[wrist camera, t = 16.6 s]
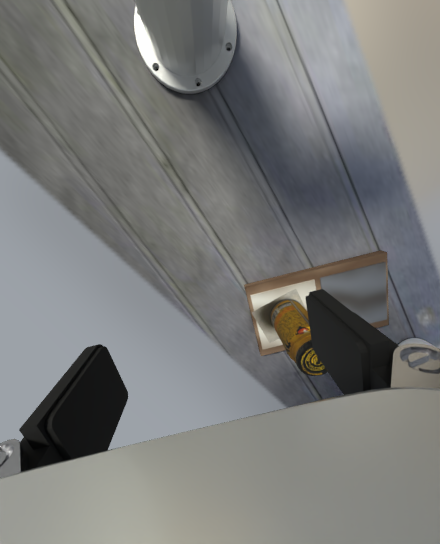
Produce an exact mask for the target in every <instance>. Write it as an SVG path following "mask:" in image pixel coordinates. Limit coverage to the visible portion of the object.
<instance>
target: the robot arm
mask: <svg viewBox="0 0 440 544" xmlns="http://www.w3.org/2000/svg"><path fill="white" fill-rule="evenodd" d="M134 1H135V4H136V5H135V12H134V33H135V37H136V42H137V46H138V49H139V51H140V54H141V56H142V58H143V61H144V63H145V65H146V66H147V68H148V69H149V71H150V72H151V74H152V75H153V76H154V77H155V78H156V79H157V80H158V81H159V82H160V83H162V84H163V85H164V86H166V87H167V88H169V89H171V90H173V91H176V92H180V93H184V94H195V93H199V92H203V91H205V90H207V89H209V88H211V87H212V86H214V85H215V84H216V83H218V82H219V80H220V79H221V78H222V77H223V76H224V75H225V73H226V71H227V70H228V68H229V66H230V64H231V61H232V58H233V55H234V51H235V46H236V38H237V22H236V17H235V11H234V8H233V5H232V2H231V0H134ZM227 49H229V50H230V51H227ZM156 69H159V70H158V71H155V70H156ZM197 84H200V86H196V85H197ZM306 305H307V312H308V319H309V326H310V333H311V340H312V346H313V350H314V352H315V354H316V355H317V357H318V358H319V360H320V361H321V363H322V364H323V365H324V367H325V368H326V370H327V371H328V373H329V374H330V375H331V377H332V378H333V380H334V381H335V383H336V384H337V385H338V387H339V388H340V390H341V391H342V393H343V394H344V395H342V396H337V397H332V398H328V399H323V400H319V401H315V402H310V403H306V404H302V405H297V406H293V407H289V408H285V409H280V410H276V411H272V412H267V413H263V414H259V415H254V416H250V417H246V418H241V419H237V420H233V421H229V422H224V423H220V424H216V425H212V426H207V427H203V428H199V429H195V430H191V431H187V432H182V433H178V434H174V435H170V436H166V437H161V438H157V439H153V440H149V441H145V442H140V443H136V444H132V445H128V446H124V447H120V448H116V449H111V450H108V447H109V445H110V442H111V440H112V437H113V435H114V432H115V430H116V427H117V425H118V422H119V420H120V417H121V415H122V412H123V409H124V407H125V405H126V402H127V399H128V392H127V389H126V387H125V385H124V383H123V381H122V379H121V377H120V375H119V372H118V370H117V368H116V366H115V364H114V362H113V360H112V358H111V355H110V353H109V351H108V349H107V348H106V347H103V346H102V345H95V346H91V347H87V348H86V349H85V350H84V351H83V352H82V354H81V355H80V356H79V357H78V358H77V360H76V361H75V362H74V363H73V364H72V366H71V367H70V368H69V369H68V371H67V372H66V373H65V374H64V375H63V377H62V378H61V379H60V381H59V382H58V383H57V384H56V385H55V386H54V388H53V389H52V390H51V391H50V393H49V394H48V395H47V396H46V398H45V399H44V400H43V401H42V402H41V404H40V405H39V406H38V407H37V408H36V410H35V411H34V412H33V414H32V415H31V416H30V417H29V418H28V420H27V421H26V422H25V423H24V424H23V426H22V427H21V428H20V432H21V433H22V434H23V436H24V438H23V439H22V441H21V442H19V440H16V439H11V440H7V441H5V442H2V443H0V544H440V349H439V348H436V347H434V346H430V345H425V344H416V343H412V344H404V345H401V346H398V345H397V344H396V343H394V342H393V341H392V340H390V339H389V338H388V337H386V336H385V335H384V334H382V333H381V332H380V331H379V330H377V329H376V328H375V327H373V326H372V325H371V324H369V323H368V322H367V321H365V320H364V319H363V318H361V317H360V316H359V315H358V314H356V313H354V312H352V311H351V310H350V309H348V308H347V307H346V306H344V305H343V304H342V303H340V302H339V301H338V300H337V299H335V298H334V297H333V296H331V295H330V294H329V293H328V292H326V291H325V290H324V289H320V290H316V291H312V292H309V296H306Z"/></svg>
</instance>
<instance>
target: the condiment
mask: <svg viewBox="0 0 440 544" xmlns="http://www.w3.org/2000/svg"><path fill="white" fill-rule="evenodd" d="M251 313H252V314H253V316H254V318H255V319H256V321H257V323H258V324H259V326H260V328H261V329H262V331H263V333H264V334H265V336H266V338H267V340H268V341H269V343H271V342H273V341H275V340H277V339H279V338H280V340H281V342H282V344H283V346H284V348H285V350H286V351H287V354H288V355H289V356H290V358H291V359H293V360H294V361H295V363H296V364H297V366H298V368H299V369H300V370H301V371H302V372H303V373H305V374H307V375H311V376H317V375H322V374H325V373H326V372H328V371H327V370H326V368H325V367H324V365H323V364H322V363H321V361H320V360H319V358H318V357H317V355H316V354H315V352H314V350H313V346H312V340H311V333H310V326H309V319H308V312H307V310H306V308H305V306H304V304H303V302H302V300H301V298H300V296H299V294H298V292H297V290H296V289H294V290H292V291H290V292H288V293H286V294H284V295H282V296H280V297H279V298H277V299H275V300H273V301H272V302H270V303H268V304H266V305H264V306H262V307H260V308H259V309H257V310H255V311H253V312H251Z"/></svg>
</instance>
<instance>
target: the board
mask: <svg viewBox="0 0 440 544" xmlns="http://www.w3.org/2000/svg"><path fill="white" fill-rule="evenodd" d="M244 286H245V290H246V295H247V299H248V303H249V308H250V312H253V311H255V310H257V309H259V308H260V307H262V306H264V305H266V304H268V303H270V302H272V301H273V300H275V299H277V298H279V297H280V296H282V295H284V294H286V293H288V292H290V291H292V290H294V289H296V290H297V292H298V294H299V296H300V298H301V300H302V302H303V304H304V306H305V308H306V310H307V305H306V296H309V292H312V291H316V290H320V289H324V290H325V291H326V292H328V293H329V294H330V295H331V296H333V297H334V298H335V299H337V300H338V301H339V302H340V303H342V304H343V305H344V306H346V307H347V308H348V309H350V310H351V311H352V312H354V313H356V314H358V315H359V316H360V317H361V318H363V319H364V320H365V321H367V322H368V323H369V324H371V325H372V326H373V327H375V328H378V327H382V326H386V325H389V314H388V272H387V252H384V251H377V252H373V253H369V254H365V255H361V256H357V257H353V258H349V259H345V260H341V261H337V262H333V263H329V264H325V265H321V266H317V267H313V268H309V269H305V270H301V271H297V272H293V273H289V274H285V275H281V276H277V277H273V278H269V279H265V280H261V281H257V282H253V283H249V284H245V285H244ZM251 316H252V321H253V325H254V329H255V334H256V338H257V342H258V347H259V351H260V354H261V356H263V355H267V354H271V353H275V352H280V351H284V350H285V348H284V346H283V344H282V342H281V340H280V338H279V339H277V340H275V341H273V342H271V343H269V341H268V340H267V338H266V336H265V334H264V333H263V331H262V329H261V328H260V326H259V324H258V323H257V321H256V319H255V318H254V316H253V314H252V313H251Z"/></svg>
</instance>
